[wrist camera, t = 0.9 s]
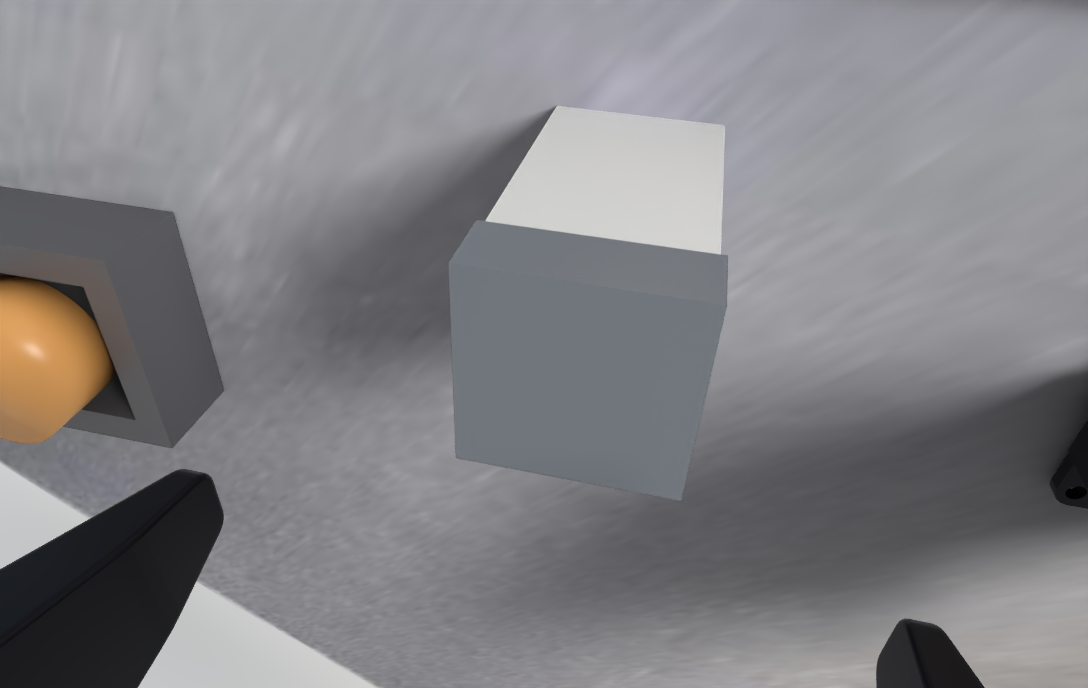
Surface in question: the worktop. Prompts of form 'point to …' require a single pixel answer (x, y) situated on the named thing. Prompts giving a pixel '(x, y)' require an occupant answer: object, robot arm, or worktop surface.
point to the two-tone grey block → (594, 304)
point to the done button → (46, 360)
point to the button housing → (121, 306)
